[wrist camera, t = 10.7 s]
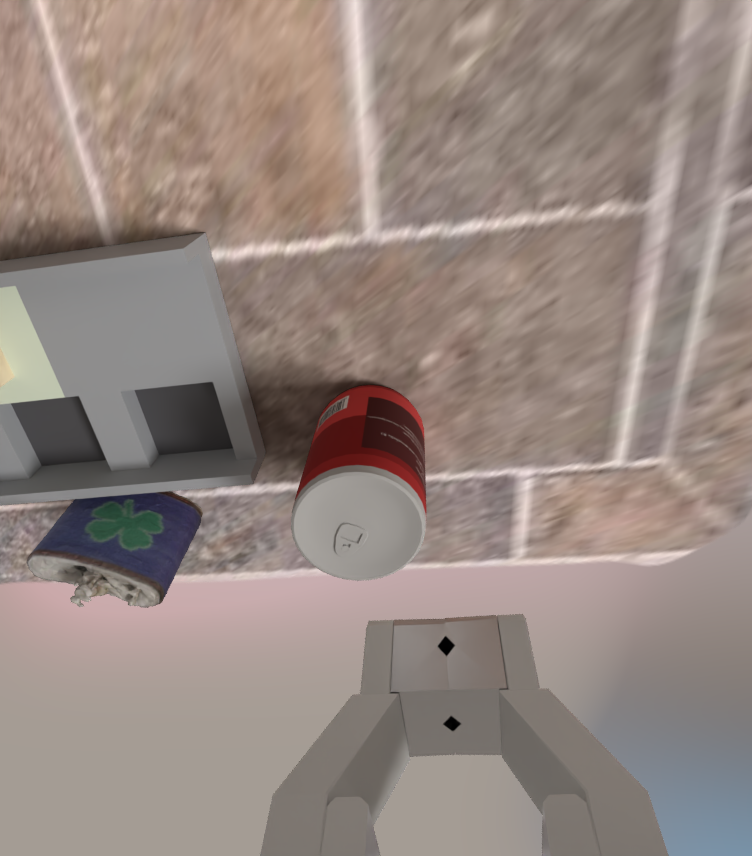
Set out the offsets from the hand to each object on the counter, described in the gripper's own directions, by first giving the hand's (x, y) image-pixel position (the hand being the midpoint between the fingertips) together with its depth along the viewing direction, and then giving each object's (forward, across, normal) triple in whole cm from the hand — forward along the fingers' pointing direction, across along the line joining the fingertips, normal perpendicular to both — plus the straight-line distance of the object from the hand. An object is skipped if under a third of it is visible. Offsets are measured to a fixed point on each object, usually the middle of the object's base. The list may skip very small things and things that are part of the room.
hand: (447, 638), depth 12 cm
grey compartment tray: (+29, +24, +5) cm, 38 cm away
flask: (+29, +24, +16) cm, 41 cm away
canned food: (+29, +5, +12) cm, 32 cm away
